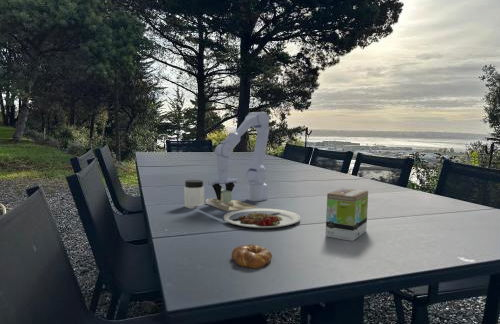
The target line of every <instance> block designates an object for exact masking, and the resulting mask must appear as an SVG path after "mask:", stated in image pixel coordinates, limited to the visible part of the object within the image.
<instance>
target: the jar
mask: <svg viewBox="0 0 500 324" xmlns="http://www.w3.org/2000/svg"><path fill="white" fill-rule="evenodd" d="M184 185H185V186H184V187H183V188H184V189H183V190H184V191H183V192H184V195H183V197H184V200H183V201H184V208H187V209H197V207H201V206H203V205H205V186H204V181H203V180H201V179H188V180H185V181H184Z"/></svg>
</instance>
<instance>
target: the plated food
mask: <svg viewBox="0 0 500 324" xmlns="http://www.w3.org/2000/svg"><path fill="white" fill-rule="evenodd" d="M247 212H248V214H247V215H240V216H238V218H234V219H233V218H232V219H230V218H231V216H234V215H237V214H240V213H247ZM249 212H251V213H249ZM265 212H266V213H265ZM267 212H274V213H267ZM223 220H224V221H225V222H227V223H229V224H232V225H236V226H239V227H244V228H253V229H274V228H282V227H285V226H290V225H291V226H292V225H293V224H297V223H298V222H300V221H301V216H300V215H299V214H298V213H296V212H293V211H289V210H285V209H278V208H259V207H257V208H248V209H240V210H232V211H228V212H227V213H225V214H224V215H223Z"/></svg>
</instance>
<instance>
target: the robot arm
mask: <svg viewBox="0 0 500 324" xmlns="http://www.w3.org/2000/svg"><path fill="white" fill-rule="evenodd" d="M269 123H270V117H269V115H268V114H267V112H265V111H256V112H255V111H254V112H253V111H252V112H249V113H248V114H247V115H246V116H245V118H244V120H243V121H242V122H241V124H240V125H239V126H238V128H237V129H236V130H235V131H234V132H233V131H231V132H230V133H228V134H227V137H225V138H224V140H222V141H221V143H220V144H218V145H216V147H215V150H214V154H215V156H216V164H217V165H216V171H217V172H216V175H217V176H216V179H210V180H208V181H207V185H208V186H211V187H212V188H213V190H214V194H215V195H216V198H217V200H221V189H222V185H225V190H228V191H231V192H232V191H233V190H234V188H235V184H238V183H239V178H230V177H231V176H230V172H231V171H230V168H231V167H230V162H231V161H230V157H231V155H232V154H233V151H234V148H235V147H236V146H237V145H239V143H240V142H241V137H242V136H244V134H245V133H246V132H247V131H248V130H249V129H250V128H251V127H252V128H253V129H255V131H256V133H257V134H256V139H255V143H254V144H255V145H254V150H253V154H252V155H253V157H252V161H251V164H250V165H249V166H248V168H247V171H246V172H245V174H244V175H245V177H244V178H245V180H246V181H247V185H248V186H247V187H248V189H247V190H248V191H247V194H248V195H247V199H248V201H252V202H260V201H266V200H269V187H268V185H267V183H265V182H266V180H267V174H266V173H267V169H266V168H265V166H264V161H265V156H266V151H267V144H268V139H269V134H270V125H269Z"/></svg>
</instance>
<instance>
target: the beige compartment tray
mask: <svg viewBox="0 0 500 324" xmlns="http://www.w3.org/2000/svg"><path fill="white" fill-rule="evenodd" d="M205 204H207V205H210V206H212V207H214V208H217V209H220V210H223V211H225V212H232V211H236V210H243V209H257V206H256V205H252V204H251V203H246V202H243V201H240V200H238V199H233V200H231V201H230V202H221V203H219V202H217V197H214V198H205Z"/></svg>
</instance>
